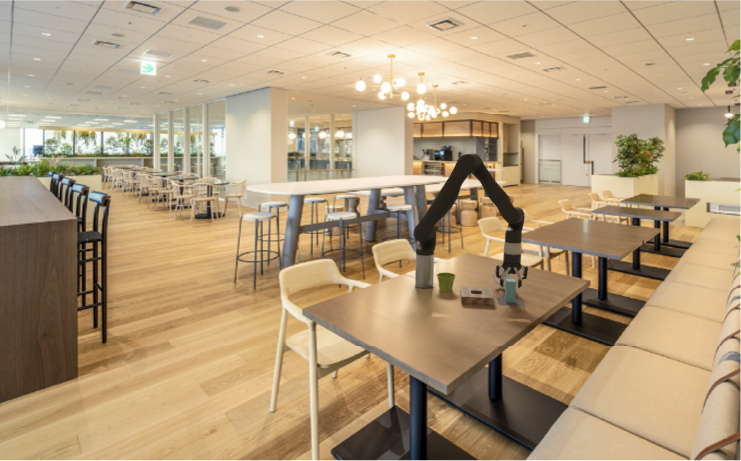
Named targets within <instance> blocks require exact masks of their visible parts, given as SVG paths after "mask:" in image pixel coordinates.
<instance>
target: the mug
mask: <svg viewBox="0 0 741 461" xmlns="http://www.w3.org/2000/svg"><path fill="white" fill-rule="evenodd" d="M503 271H504V269H503V267H501V269H500V270H499V275H501V274H502V272H503ZM497 279H498V280H496V268H494V271H493V272H492V281H493V283H494V284H493V285H497V286H498V288H499V289H501V290H505V282H506V279H513V274H508V273H507V275H506V276H505V277H504V284H503V287H501V286H500V278H497Z"/></svg>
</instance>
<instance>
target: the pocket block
mask: <svg viewBox="0 0 741 461" xmlns="http://www.w3.org/2000/svg"><path fill="white" fill-rule="evenodd" d="M459 290H460V295H459V296H460V301H461V305H475V306H476V305H477V306H488V307H489V306H494V304H495V302H494V301H495V298H494V295H493V291H492V289H491V287H471V286H469V287H468V286H460V289H459Z"/></svg>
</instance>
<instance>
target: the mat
mask: <svg viewBox="0 0 741 461" xmlns="http://www.w3.org/2000/svg"><path fill="white" fill-rule="evenodd" d="M495 298H496V301H497V304H498V305H499V306H514V307H523V308H524V309H525V304H524V302H523V300H522V298H521V297H515V303H507V302H505V296H495Z"/></svg>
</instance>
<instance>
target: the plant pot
mask: <svg viewBox="0 0 741 461" xmlns="http://www.w3.org/2000/svg"><path fill="white" fill-rule="evenodd" d="M436 277H437V280H438V282H437V283H438V288H439V291H441V292H444V293H449V292H452V291H453V287H454V282H455V279H456V274H455V273H453V272H438V273H437V274H436Z"/></svg>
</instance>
